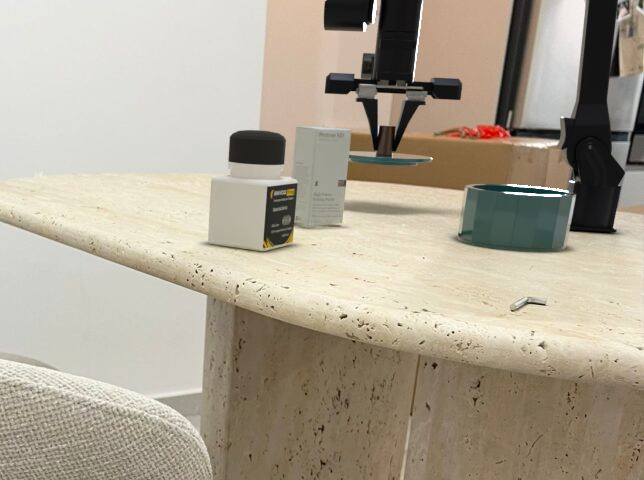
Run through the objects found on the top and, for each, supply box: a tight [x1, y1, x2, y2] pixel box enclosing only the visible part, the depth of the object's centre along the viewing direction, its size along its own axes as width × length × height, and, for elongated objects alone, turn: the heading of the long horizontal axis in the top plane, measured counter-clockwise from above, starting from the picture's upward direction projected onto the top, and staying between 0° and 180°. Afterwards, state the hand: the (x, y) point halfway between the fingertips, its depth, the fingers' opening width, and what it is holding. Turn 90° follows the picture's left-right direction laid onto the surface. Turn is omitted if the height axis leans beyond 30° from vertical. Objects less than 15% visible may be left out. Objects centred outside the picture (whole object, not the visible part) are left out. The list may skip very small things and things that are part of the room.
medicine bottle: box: [207, 129, 298, 252], centre depth 103 cm, size 7×7×12 cm
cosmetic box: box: [291, 125, 352, 229], centre depth 121 cm, size 6×4×12 cm
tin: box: [457, 183, 576, 253], centre depth 115 cm, size 13×13×6 cm
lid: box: [348, 124, 433, 167], centre depth 136 cm, size 14×14×5 cm
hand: (384, 150), depth 136 cm, fingers closed on lid, 2 cm apart
